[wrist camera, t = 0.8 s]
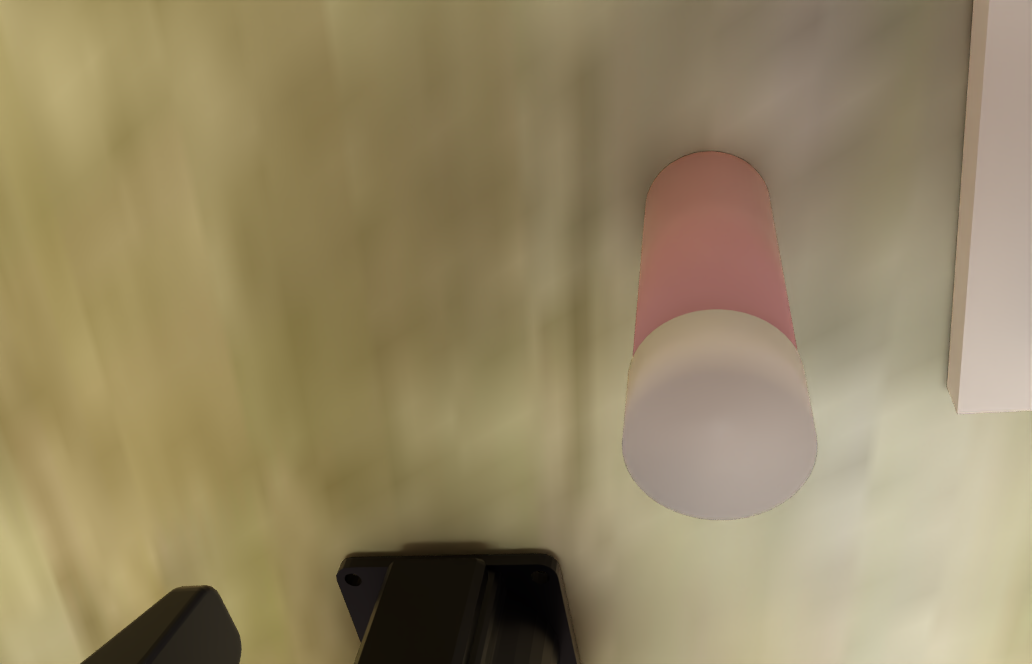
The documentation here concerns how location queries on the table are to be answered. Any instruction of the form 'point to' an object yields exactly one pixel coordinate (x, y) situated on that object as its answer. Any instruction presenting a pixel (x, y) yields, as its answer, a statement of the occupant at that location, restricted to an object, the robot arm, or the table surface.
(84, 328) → the table surface
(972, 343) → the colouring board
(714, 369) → the rose marker
